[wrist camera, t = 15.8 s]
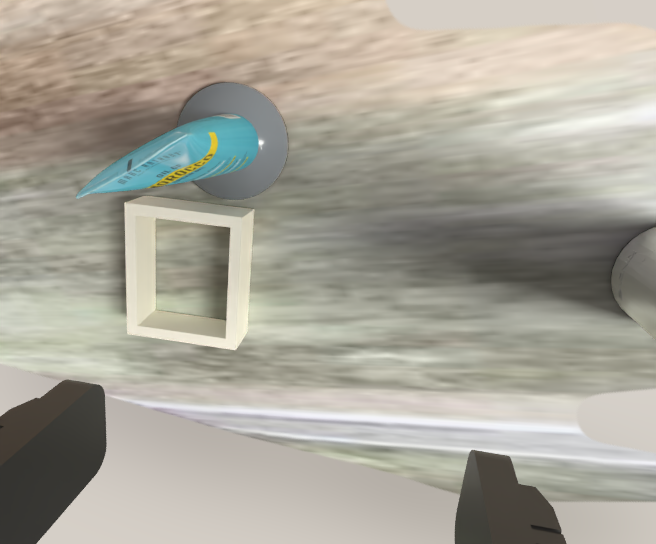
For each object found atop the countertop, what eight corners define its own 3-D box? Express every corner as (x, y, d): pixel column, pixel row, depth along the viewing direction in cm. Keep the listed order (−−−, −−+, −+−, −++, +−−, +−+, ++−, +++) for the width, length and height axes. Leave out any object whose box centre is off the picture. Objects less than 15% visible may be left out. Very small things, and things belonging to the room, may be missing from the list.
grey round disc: (292, 89, 45) (291, 88, 44) (284, 204, 48) (282, 206, 47) (180, 77, 46) (176, 76, 45) (178, 191, 49) (175, 192, 48)
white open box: (254, 209, 48) (242, 217, 45) (247, 332, 52) (235, 350, 48) (145, 195, 49) (124, 202, 45) (146, 317, 53) (127, 333, 49)
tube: (215, 187, 47) (103, 237, 29) (184, 140, 46) (48, 161, 28) (282, 143, 45) (207, 166, 27) (251, 93, 44) (152, 82, 26)
